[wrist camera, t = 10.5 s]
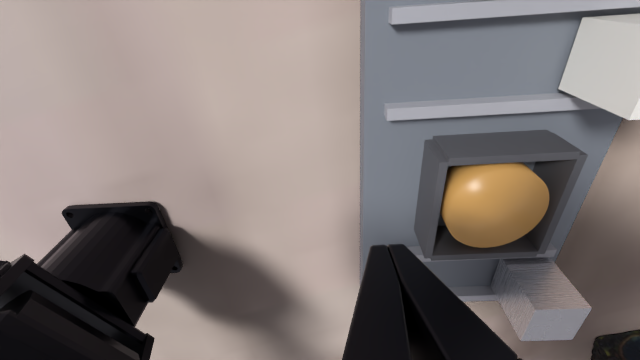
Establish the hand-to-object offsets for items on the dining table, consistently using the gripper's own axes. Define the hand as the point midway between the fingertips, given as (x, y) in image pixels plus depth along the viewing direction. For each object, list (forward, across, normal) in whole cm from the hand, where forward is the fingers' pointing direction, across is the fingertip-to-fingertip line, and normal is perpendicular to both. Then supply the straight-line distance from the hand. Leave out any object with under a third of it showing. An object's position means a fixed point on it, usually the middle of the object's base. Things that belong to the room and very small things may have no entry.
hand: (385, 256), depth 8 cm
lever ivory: (+9, -11, -3) cm, 14 cm away
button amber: (+9, -7, +4) cm, 12 cm away
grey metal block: (+9, -11, +11) cm, 18 cm away
